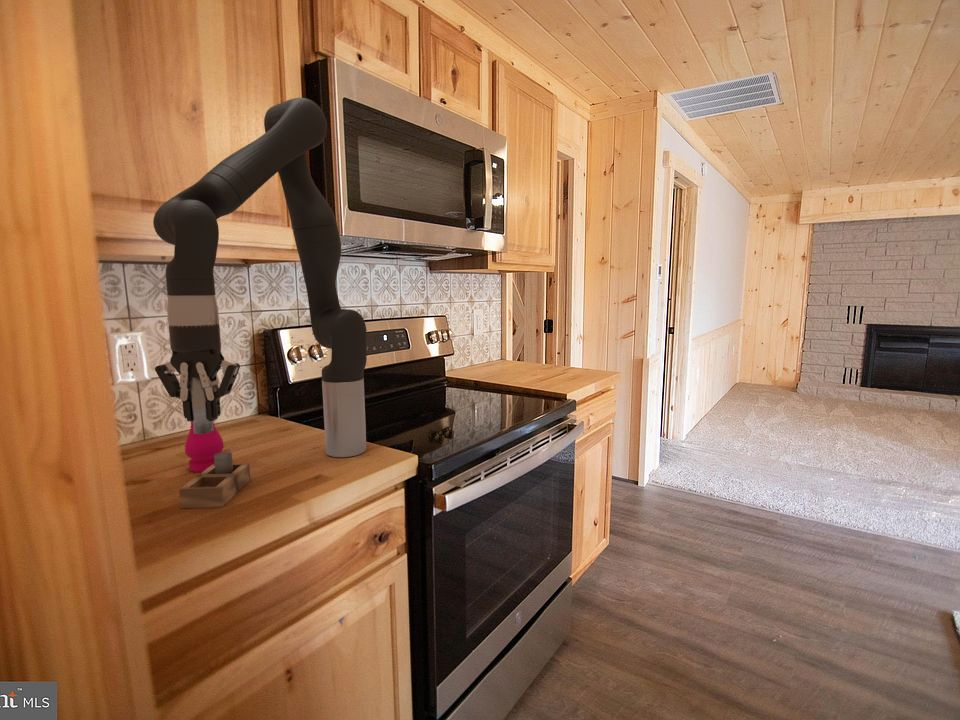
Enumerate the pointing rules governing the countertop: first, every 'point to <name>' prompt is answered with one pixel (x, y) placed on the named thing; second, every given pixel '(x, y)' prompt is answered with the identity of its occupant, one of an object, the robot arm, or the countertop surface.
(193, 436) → the pepper mill
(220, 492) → the wooden divided tray
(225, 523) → the countertop surface
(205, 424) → the pin
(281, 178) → the robot arm
